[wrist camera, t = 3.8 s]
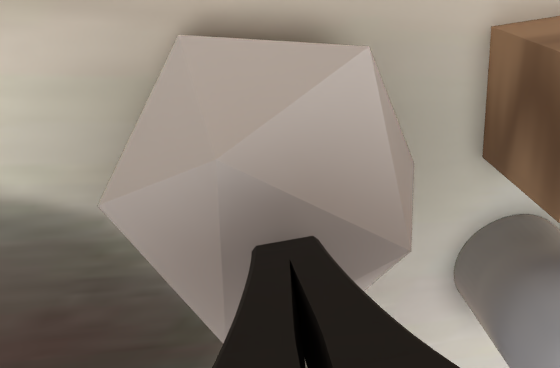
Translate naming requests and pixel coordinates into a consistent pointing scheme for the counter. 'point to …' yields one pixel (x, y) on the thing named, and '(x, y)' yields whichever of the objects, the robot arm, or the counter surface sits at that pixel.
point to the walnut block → (526, 108)
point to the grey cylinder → (515, 287)
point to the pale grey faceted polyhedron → (262, 166)
